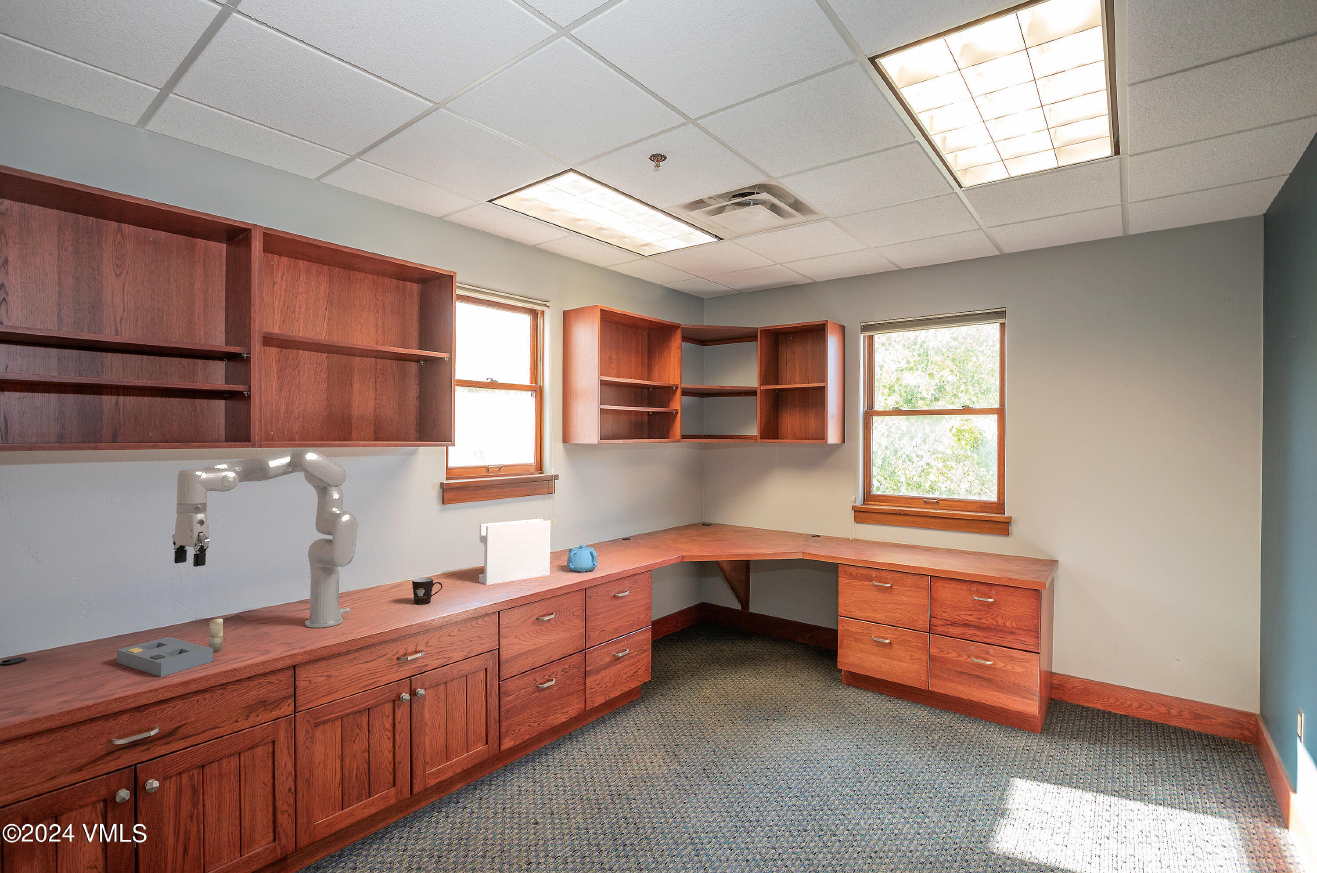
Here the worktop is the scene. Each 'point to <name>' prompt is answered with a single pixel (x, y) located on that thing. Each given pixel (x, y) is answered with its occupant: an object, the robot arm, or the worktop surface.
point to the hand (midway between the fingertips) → (189, 564)
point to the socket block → (164, 656)
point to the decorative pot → (582, 559)
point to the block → (515, 550)
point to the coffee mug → (423, 590)
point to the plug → (216, 634)
